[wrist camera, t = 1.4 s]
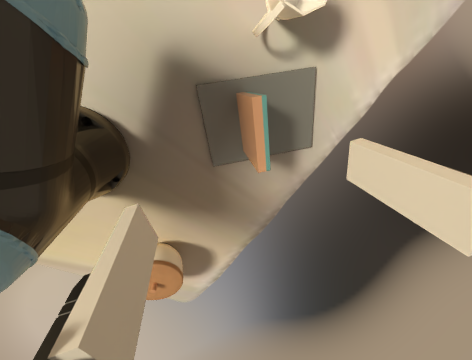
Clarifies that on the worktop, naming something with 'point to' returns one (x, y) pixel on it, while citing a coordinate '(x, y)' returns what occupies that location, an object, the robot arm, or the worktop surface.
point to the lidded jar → (165, 273)
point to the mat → (278, 110)
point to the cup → (286, 11)
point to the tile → (254, 128)
